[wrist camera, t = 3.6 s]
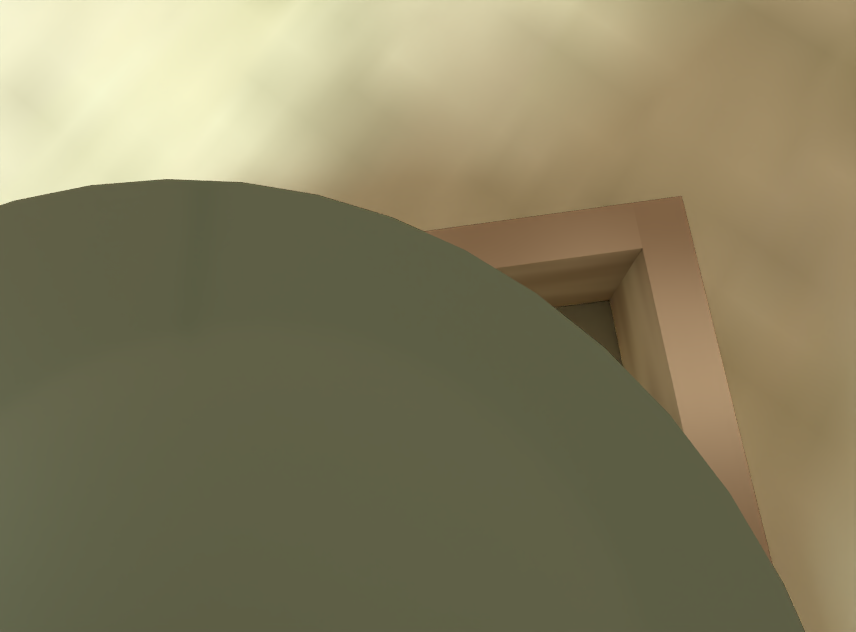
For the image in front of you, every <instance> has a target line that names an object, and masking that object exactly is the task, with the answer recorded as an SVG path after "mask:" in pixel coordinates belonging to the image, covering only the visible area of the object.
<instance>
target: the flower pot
mask: <svg viewBox="0 0 856 632" xmlns="http://www.w3.org/2000/svg"><path fill="white" fill-rule="evenodd" d="M0 632H805V631H804V628H803V626H802V624H801V622H800V619H799V617H798V615H797V613H796V610H795V608H794V606H793V604H792V602H791V599H790V597H789V595H788V593H787V590H786V588H785V586H784V584H783V582H782V580H781V579H780V577H779V575H778V573H777V572H776V570H775V568H774V567H773V565H772V563H771V562H770V560H769V558H768V557H767V555H766V553H765V552H764V550H763V548H762V546H761V545H760V543H759V541H758V540H757V538H756V536H755V535H754V533H753V531H752V530H751V528H750V526H749V525H748V523H747V521H746V520H745V518H744V516H743V514H742V513H741V511H740V509H739V508H738V506H737V504H736V503H735V501H734V499H733V498H732V496H731V494H730V493H729V491H728V490H727V489H726V487H725V486H724V485H723V483H722V482H721V481H720V479H719V478H718V477H717V476H716V474H715V473H714V472H713V470H712V469H711V468H710V466H709V465H708V464H707V462H706V461H705V460H704V459H703V457H702V456H701V455H700V453H699V452H698V451H697V449H696V448H695V447H694V445H693V444H692V443H691V442H690V440H689V439H688V438H687V436H686V435H685V434H684V432H683V431H682V430H681V428H680V427H679V426H678V425H677V423H676V422H675V421H674V419H673V418H672V417H671V415H670V414H669V413H668V412H667V411H666V410H665V409H664V408H663V407H662V406H661V405H660V404H659V403H658V402H657V401H656V400H655V399H654V398H653V397H652V396H651V395H650V394H649V393H648V392H647V391H646V390H645V389H644V388H643V386H642V385H641V384H640V383H639V382H638V381H637V380H636V379H635V378H634V377H633V376H632V375H631V374H630V373H629V372H628V371H627V370H626V369H625V368H624V367H623V366H622V365H621V364H620V363H619V362H618V361H617V360H616V359H615V358H614V357H613V356H612V355H611V354H610V353H609V352H608V351H607V350H606V349H605V348H604V347H603V346H602V345H601V344H599V343H598V342H597V341H596V340H594V339H593V338H592V337H590V336H589V335H588V334H587V333H585V332H584V331H583V330H582V329H580V328H579V327H578V326H577V325H575V324H574V323H573V322H572V321H570V320H569V319H568V318H567V317H565V316H564V315H563V314H562V313H560V312H559V311H558V310H557V309H555V308H554V307H553V306H552V305H550V304H549V303H548V302H547V301H545V300H544V299H543V298H542V297H540V296H539V295H538V294H537V293H535V292H533V291H532V290H530V289H528V288H527V287H525V286H524V285H522V284H520V283H519V282H517V281H515V280H514V279H512V278H510V277H509V276H507V275H505V274H504V273H502V272H501V271H499V270H497V269H496V268H494V267H492V266H491V265H489V264H487V263H486V262H484V261H482V260H481V259H479V258H478V257H476V256H474V255H473V254H471V253H469V252H468V251H466V250H464V249H462V248H460V247H457V246H455V245H453V244H451V243H448V242H446V241H444V240H442V239H440V238H437V237H435V236H433V235H431V234H428V233H426V232H424V231H422V230H419V229H417V228H415V227H413V226H410V225H408V224H406V223H404V222H401V221H399V220H397V219H395V218H392V217H389V216H386V215H383V214H379V213H376V212H373V211H369V210H366V209H363V208H359V207H356V206H353V205H349V204H346V203H343V202H339V201H336V200H333V199H330V198H326V197H323V196H320V195H315V194H309V193H303V192H297V191H291V190H285V189H279V188H273V187H267V186H261V185H255V184H249V183H243V182H222V181H198V180H173V179H163V180H151V181H138V182H126V183H114V184H102V185H90V186H85V187H80V188H75V189H70V190H65V191H60V192H55V193H50V194H45V195H40V196H35V197H31V198H26V199H21V200H16V201H12V202H9V203H6V204H3V205H0Z"/></svg>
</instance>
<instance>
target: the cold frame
mask: <svg viewBox="0 0 856 632" xmlns="http://www.w3.org/2000/svg"><path fill="white" fill-rule="evenodd" d="M424 232H426V233H428V234H431V235H433V236H435V237H437V238H440V239H442V240H444V241H446V242H448V243H451V244H453V245H455V246H457V247H460V248H462V249H464V250H466V251H468V252H469V253H471V254H473V255H474V256H476V257H478V258H479V259H481V260H482V261H484V262H486V263H487V264H489V265H491V266H492V267H494V268H496V269H497V270H499V271H501V272H502V273H504V274H505V275H507V276H509V277H510V278H512V279H514V280H515V281H517V282H519V283H520V284H522V285H524V286H525V287H527V288H528V289H530V290H532V291H533V292H535V293H537V294H538V295H539V296H540V297H542V298H543V299H544V300H545V301H547V302H548V303H549V304H550V305H552V306H553V307H561V306H569V305H576V304H584V303H591V302H599V301H606V300H609V301H610V306H611V310H612V315H613V320H614V325H615V330H616V335H617V340H618V345H619V350H620V355H621V359H622V364H623V367H624V368H625V369H626V370H627V371H628V372H629V373H630V374H631V375H632V376H633V377H634V378H635V379H636V380H637V381H638V382H639V383H640V384H641V385H642V386H643V388H644V389H645V390H646V391H647V392H648V393H649V394H650V395H651V396H652V397H653V398H654V399H655V400H656V401H657V402H658V403H659V404H660V405H661V406H662V407H663V408H664V409H665V410H666V411H667V412H668V413H669V414H670V415H671V417H672V418H673V419H674V421H675V422H676V423H677V425H678V426H679V427H680V428H681V430H682V431H683V432H684V434H685V435H686V436H687V438H688V439H689V440H690V442H691V443H692V444H693V445H694V447H695V448H696V449H697V451H698V452H699V453H700V455H701V456H702V457H703V459H704V460H705V461H706V462H707V464H708V465H709V466H710V468H711V469H712V470H713V472H714V473H715V474H716V476H717V477H718V478H719V479H720V481H721V482H722V483H723V485H724V486H725V487H726V489H727V490H728V491H729V493H730V494H731V496H732V498H733V499H734V501H735V503H736V504H737V506H738V508H739V509H740V511H741V513H742V514H743V516H744V518H745V520H746V521H747V523H748V525H749V526H750V528H751V530H752V531H753V533H754V535H755V536H756V538H757V540H758V541H759V543H760V545H761V546H762V548H763V550H764V552H765V553H766V555H767V557H768V558H769V560H770V562H771V563H772V561H771V557H770V553H769V549H768V545H767V541H766V537H765V533H764V529H763V525H762V521H761V517H760V513H759V508H758V504H757V500H756V496H755V492H754V488H753V484H752V480H751V476H750V472H749V468H748V464H747V460H746V456H745V452H744V448H743V443H742V439H741V435H740V431H739V427H738V423H737V419H736V415H735V411H734V407H733V403H732V399H731V395H730V391H729V387H728V383H727V378H726V374H725V370H724V366H723V362H722V358H721V354H720V350H719V346H718V342H717V338H716V334H715V330H714V326H713V322H712V317H711V313H710V309H709V305H708V301H707V297H706V293H705V289H704V285H703V281H702V277H701V273H700V269H699V265H698V261H697V257H696V252H695V248H694V244H693V240H692V236H691V232H690V228H689V224H688V220H687V216H686V212H685V208H684V204H683V200H682V196H678V197H671V198H664V199H656V200H649V201H642V202H634V203H627V204H620V205H613V206H605V207H598V208H591V209H583V210H576V211H569V212H562V213H554V214H547V215H540V216H532V217H525V218H518V219H511V220H503V221H496V222H489V223H481V224H474V225H467V226H460V227H452V228H445V229H438V230H430V231H424Z"/></svg>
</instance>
